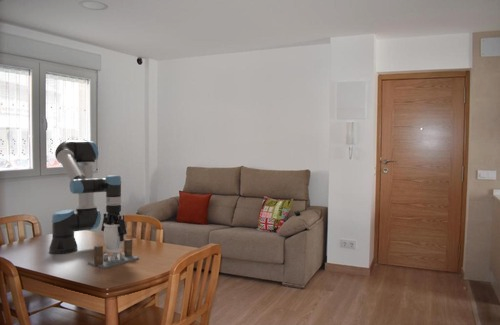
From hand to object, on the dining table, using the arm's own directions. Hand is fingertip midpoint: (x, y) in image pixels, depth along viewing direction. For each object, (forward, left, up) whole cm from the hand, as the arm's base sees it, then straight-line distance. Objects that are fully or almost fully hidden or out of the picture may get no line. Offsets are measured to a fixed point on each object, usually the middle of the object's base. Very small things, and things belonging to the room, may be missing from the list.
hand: (113, 245), depth 221 cm
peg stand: (0, 0, -8) cm, 8 cm away
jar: (0, 0, -3) cm, 3 cm away
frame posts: (0, 0, -8) cm, 8 cm away
